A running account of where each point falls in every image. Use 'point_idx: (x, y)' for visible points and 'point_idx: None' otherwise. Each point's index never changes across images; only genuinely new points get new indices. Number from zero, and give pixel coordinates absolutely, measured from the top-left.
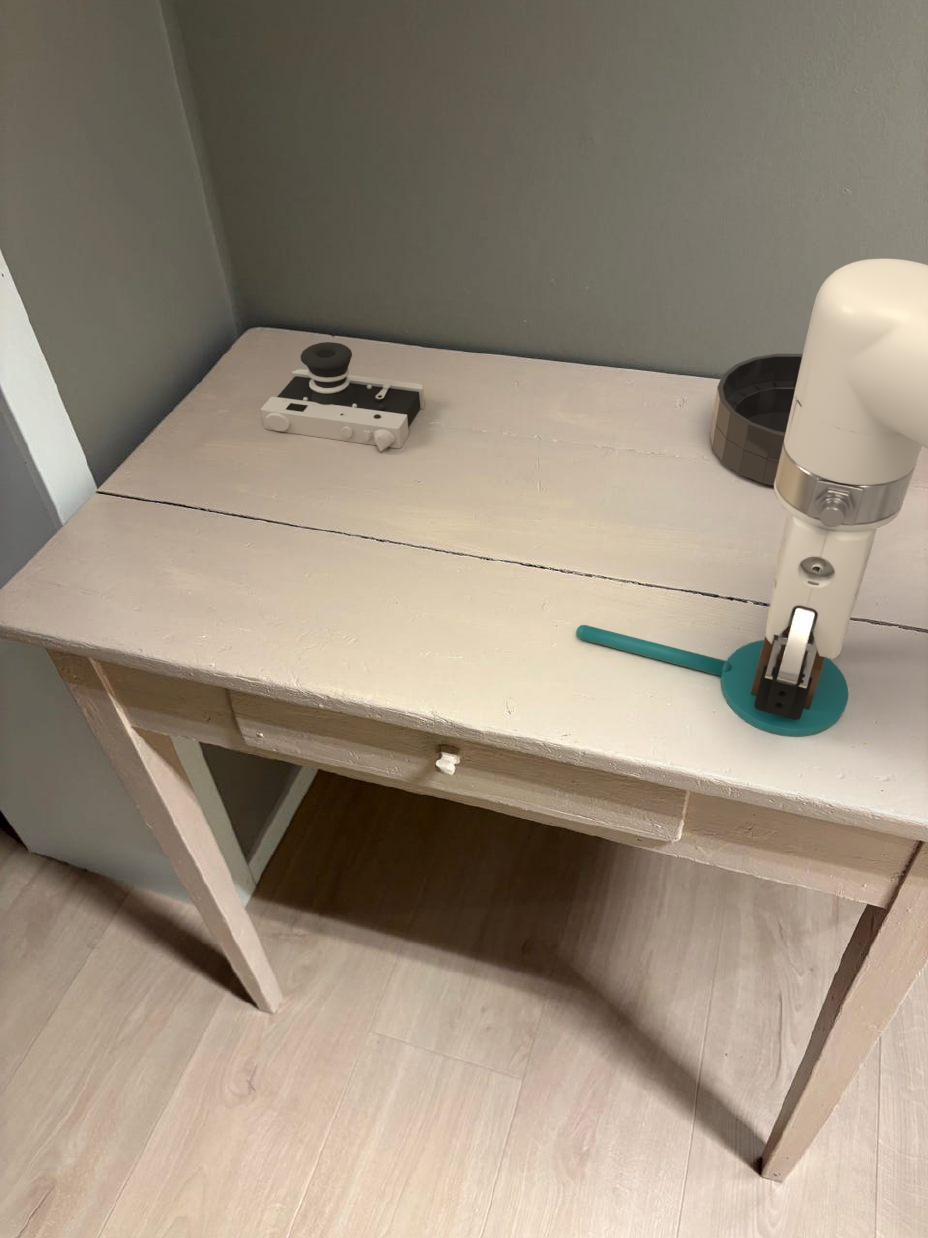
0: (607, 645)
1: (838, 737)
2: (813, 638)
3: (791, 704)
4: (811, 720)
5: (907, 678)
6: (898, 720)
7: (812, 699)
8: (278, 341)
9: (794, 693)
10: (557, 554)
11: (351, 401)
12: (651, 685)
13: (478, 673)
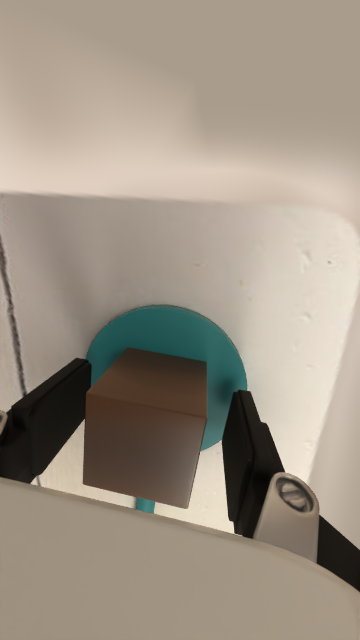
0: None
1: (235, 317)
2: (119, 425)
3: (273, 442)
4: (225, 359)
5: (98, 213)
6: (187, 231)
7: (206, 372)
8: None
9: (284, 470)
10: None
11: None
12: (190, 506)
13: None
